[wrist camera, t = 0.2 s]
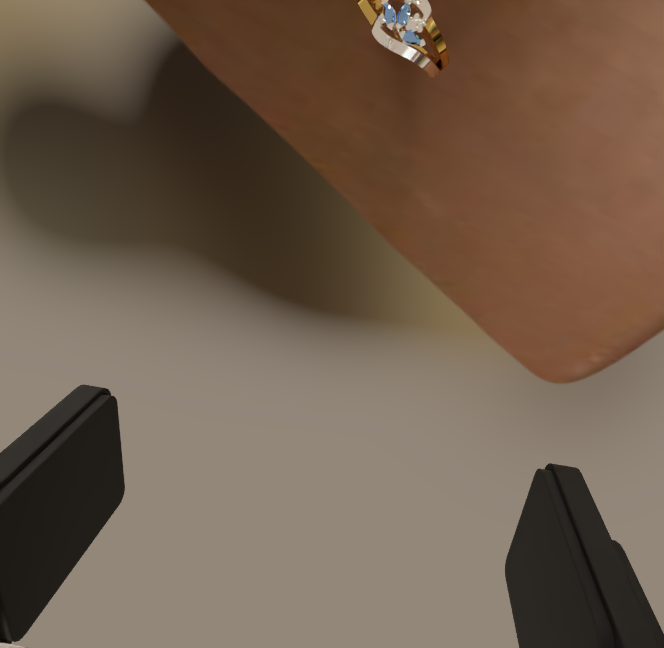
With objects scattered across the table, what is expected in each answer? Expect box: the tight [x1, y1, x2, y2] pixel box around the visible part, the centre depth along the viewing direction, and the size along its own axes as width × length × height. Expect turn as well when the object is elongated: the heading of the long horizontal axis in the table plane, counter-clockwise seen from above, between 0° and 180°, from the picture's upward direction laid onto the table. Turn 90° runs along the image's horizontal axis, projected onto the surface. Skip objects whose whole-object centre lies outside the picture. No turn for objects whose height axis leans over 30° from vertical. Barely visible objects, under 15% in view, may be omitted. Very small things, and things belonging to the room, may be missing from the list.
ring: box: [357, 0, 449, 79], centre depth 31 cm, size 7×3×8 cm, turn 42°
